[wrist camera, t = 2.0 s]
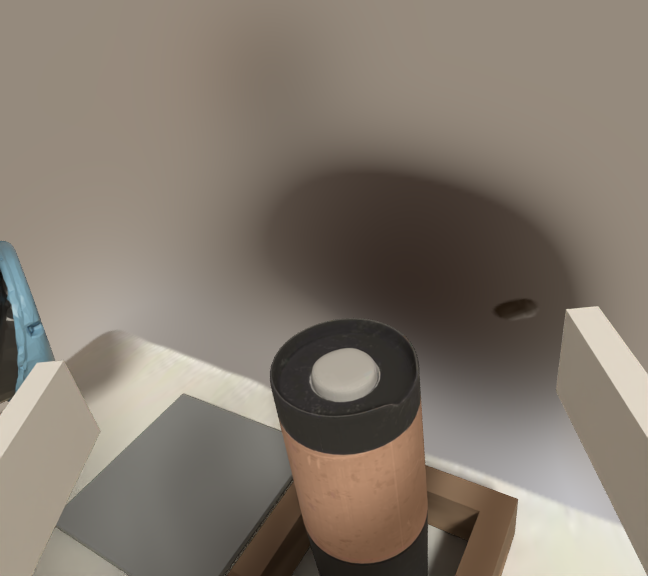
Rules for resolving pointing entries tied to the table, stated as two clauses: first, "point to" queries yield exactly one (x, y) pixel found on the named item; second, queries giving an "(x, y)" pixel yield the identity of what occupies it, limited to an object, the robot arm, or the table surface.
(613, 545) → the table surface
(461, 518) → the frame
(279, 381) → the travel mug
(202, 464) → the rubber mat
